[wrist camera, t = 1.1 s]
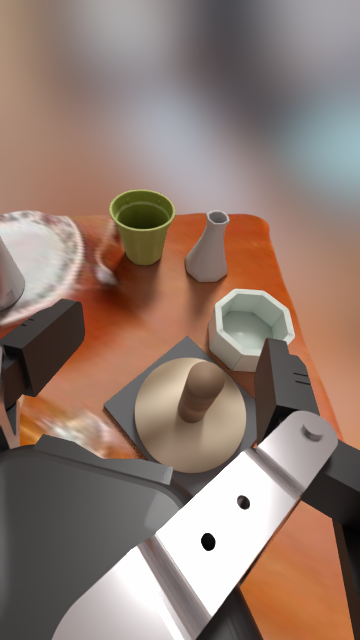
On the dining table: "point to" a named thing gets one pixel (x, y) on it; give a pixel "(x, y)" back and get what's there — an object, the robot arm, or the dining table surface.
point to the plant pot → (142, 223)
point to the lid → (190, 415)
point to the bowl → (246, 327)
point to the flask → (209, 250)
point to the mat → (124, 414)
